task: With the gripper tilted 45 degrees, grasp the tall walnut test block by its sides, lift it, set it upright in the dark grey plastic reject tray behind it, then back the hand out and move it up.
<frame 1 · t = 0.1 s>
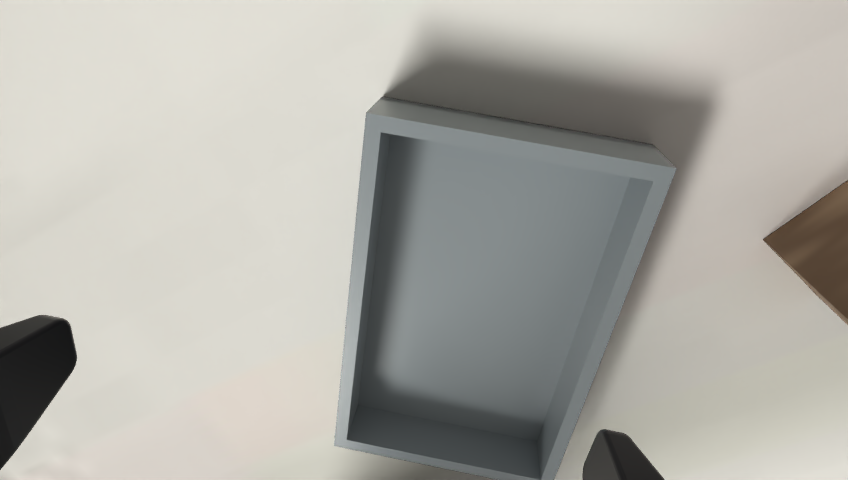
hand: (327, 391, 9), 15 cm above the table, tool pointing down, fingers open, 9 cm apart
reject tray: (475, 295, 24), on the table
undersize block: (836, 238, 21), on the table
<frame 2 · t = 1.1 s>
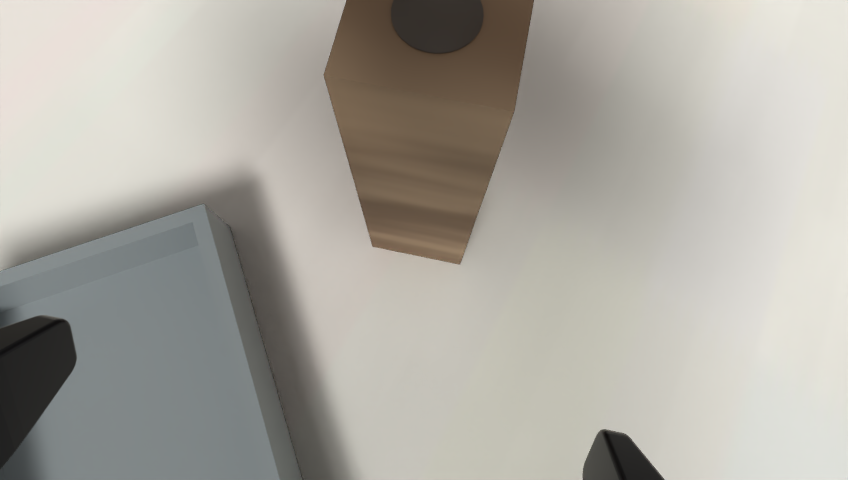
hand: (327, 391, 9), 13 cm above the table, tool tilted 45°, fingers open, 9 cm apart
reject tray: (148, 464, 20), on the table
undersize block: (425, 214, 24), on the table
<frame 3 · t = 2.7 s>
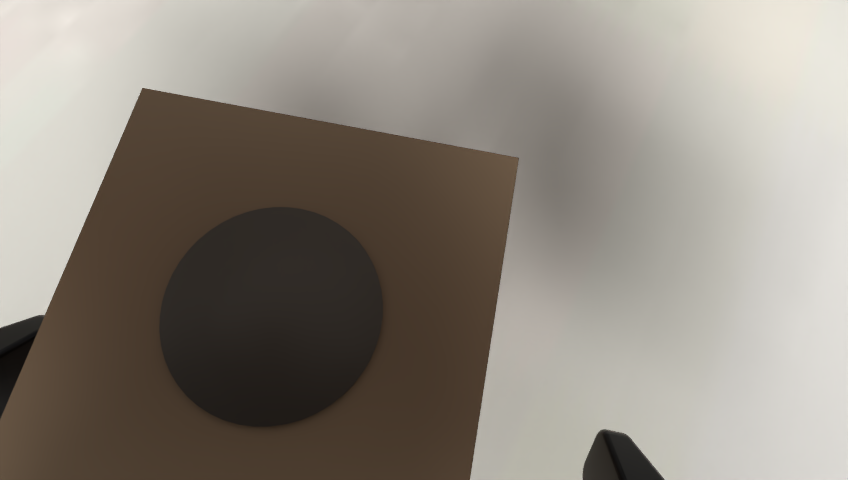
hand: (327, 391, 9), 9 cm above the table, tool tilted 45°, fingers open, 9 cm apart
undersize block: (373, 380, 17), on the table
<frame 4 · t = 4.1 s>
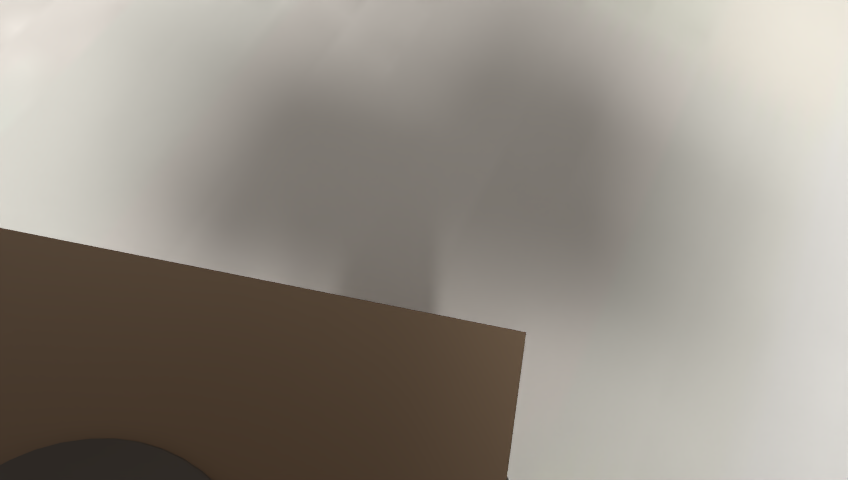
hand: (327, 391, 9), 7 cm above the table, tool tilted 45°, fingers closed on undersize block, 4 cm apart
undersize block: (354, 445, 15), on the table, touching gripper
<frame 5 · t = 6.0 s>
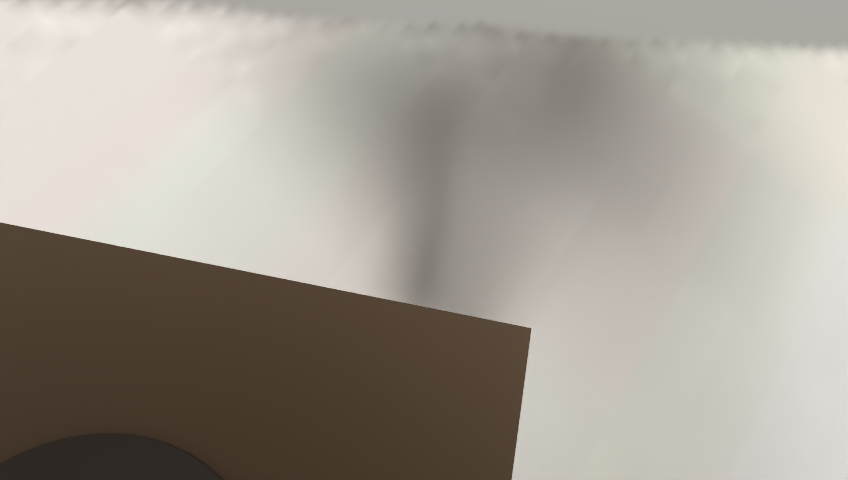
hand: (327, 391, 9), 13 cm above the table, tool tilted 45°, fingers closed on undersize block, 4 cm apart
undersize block: (355, 444, 15), point 6 cm above the table, touching gripper
when the fingers open (8 cm above the table, at t = 8.2 s): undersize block stays where it is, resting on reject tray.
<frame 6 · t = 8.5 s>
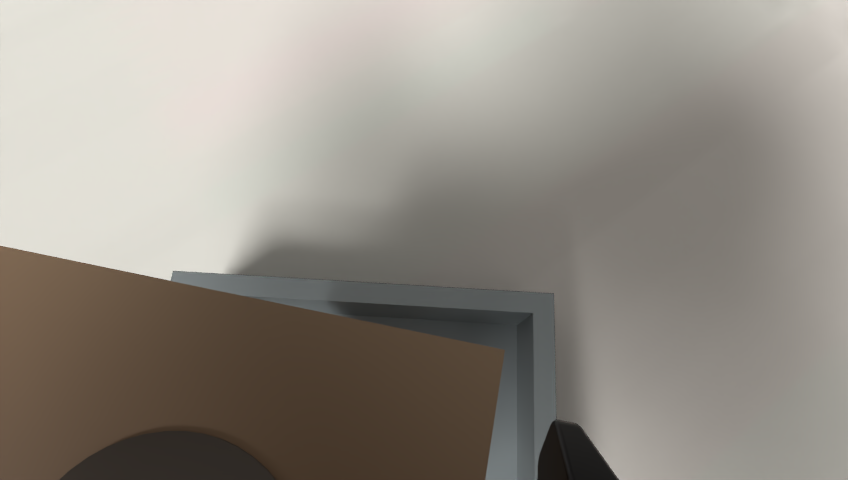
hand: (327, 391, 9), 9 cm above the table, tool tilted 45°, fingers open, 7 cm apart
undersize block: (358, 442, 16), point 1 cm above the table, touching reject tray
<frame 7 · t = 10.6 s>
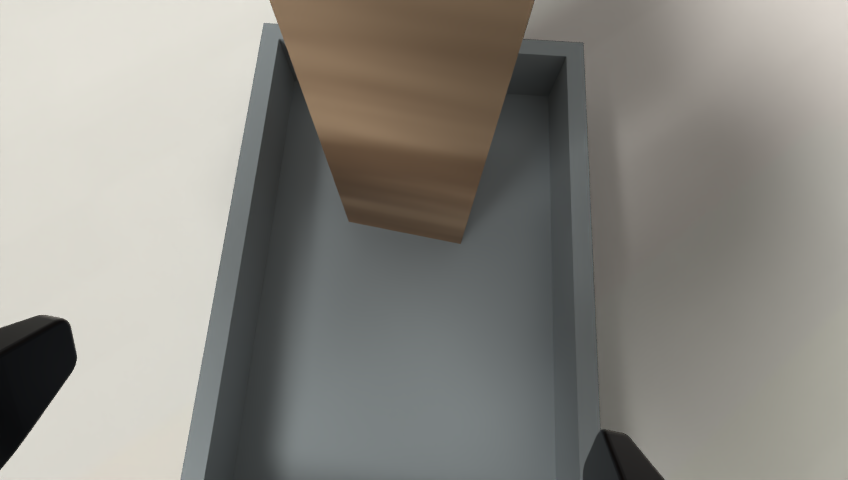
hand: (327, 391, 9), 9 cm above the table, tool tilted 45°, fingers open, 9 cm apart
reject tray: (408, 293, 18), on the table
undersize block: (416, 181, 19), point 1 cm above the table, touching reject tray
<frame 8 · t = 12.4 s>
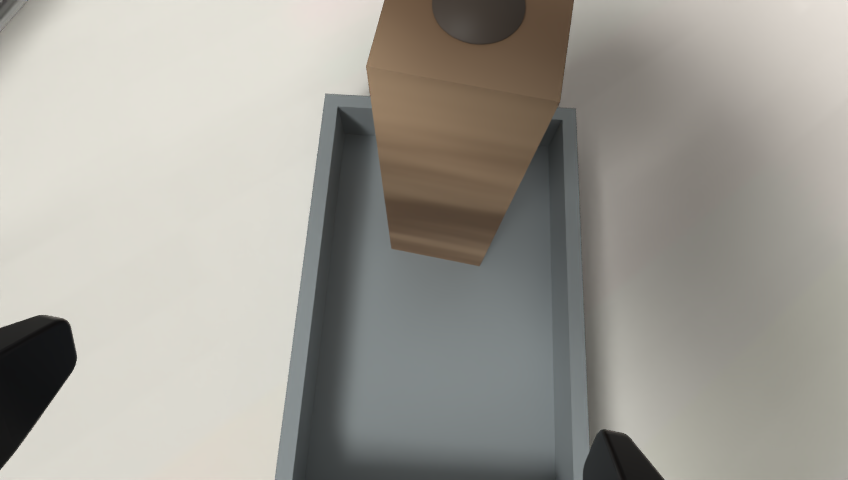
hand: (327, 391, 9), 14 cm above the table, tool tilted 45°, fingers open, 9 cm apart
reject tray: (438, 305, 23), on the table
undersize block: (443, 216, 23), point 1 cm above the table, touching reject tray
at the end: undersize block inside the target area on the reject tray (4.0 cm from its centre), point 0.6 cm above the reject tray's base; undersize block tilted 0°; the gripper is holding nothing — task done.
